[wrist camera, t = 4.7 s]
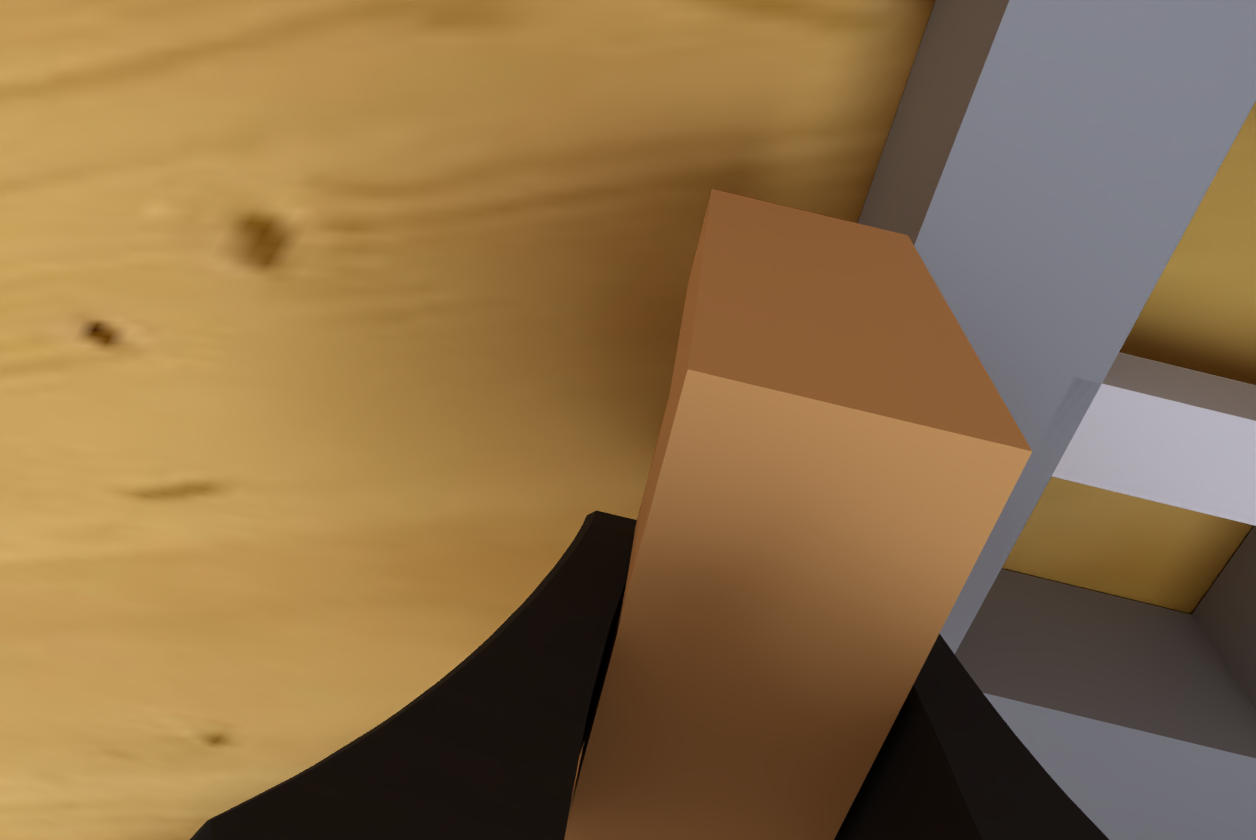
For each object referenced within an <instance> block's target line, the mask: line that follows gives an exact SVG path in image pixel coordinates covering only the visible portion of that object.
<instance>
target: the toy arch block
mask: <svg viewBox="0 0 1256 840" xmlns="http://www.w3.org/2000/svg"><path fill="white" fill-rule="evenodd" d="M1031 453H1032V450H1031V448H1030V446H1029V445H1028V443H1027V441H1026V439H1025V438H1024V436H1023V434H1022V432H1021V431H1020V429H1019V427H1018V426H1017V424H1016V422H1015V420H1014V419H1013V417H1012V415H1011V413H1010V412H1009V410H1008V408H1007V406H1006V405H1005V403H1004V401H1003V399H1002V398H1001V396H1000V394H999V393H998V391H997V389H996V387H995V386H994V384H993V382H992V380H991V379H990V377H989V375H988V373H987V372H986V370H985V368H984V366H983V365H982V363H981V361H980V360H979V358H978V356H977V354H976V353H975V351H974V349H973V347H972V346H971V344H970V342H969V340H968V339H967V337H966V335H965V333H964V332H963V330H962V328H961V327H960V325H959V323H958V321H957V320H956V318H955V316H954V314H953V313H952V311H951V309H950V307H949V306H948V304H947V302H946V300H945V299H944V297H943V295H942V294H941V292H940V290H939V288H938V287H937V285H936V283H935V281H934V280H933V278H932V276H931V274H930V273H929V271H928V269H927V267H926V266H925V264H924V262H923V261H922V259H921V257H920V255H919V254H918V252H917V250H916V248H915V247H914V245H913V243H912V241H911V240H910V238H909V236H908V235H905V234H900V233H896V232H892V231H888V230H883V229H879V228H875V227H871V226H867V225H862V224H858V223H854V222H850V221H846V220H841V219H837V218H833V217H829V216H824V215H820V214H816V213H812V212H808V211H803V210H799V209H795V208H791V207H787V206H782V205H778V204H774V203H770V202H765V201H761V200H757V199H753V198H749V197H744V196H740V195H736V194H732V193H728V192H723V191H719V190H715V189H712V190H711V194H710V198H709V202H708V206H707V210H706V214H705V218H704V222H703V226H702V230H701V234H700V238H699V242H698V246H697V250H696V254H695V258H694V262H693V266H692V269H691V273H690V277H689V281H688V287H687V293H686V299H685V305H684V311H683V317H682V323H681V329H680V335H679V341H678V347H677V353H676V359H675V365H674V370H673V376H672V382H671V388H670V394H669V399H668V403H667V406H666V410H665V414H664V418H663V422H662V426H661V430H660V433H659V437H658V441H657V445H656V449H655V453H654V457H653V460H652V464H651V468H650V472H649V476H648V480H647V484H646V488H645V491H644V495H643V499H642V503H641V507H640V511H639V515H638V518H637V522H636V526H635V533H634V540H633V546H632V552H631V558H630V564H629V570H628V576H627V580H626V583H625V587H624V591H623V595H622V599H621V603H620V606H619V610H618V614H617V618H616V622H615V625H614V629H613V633H612V637H611V641H610V645H609V648H608V652H607V656H606V660H605V664H604V667H603V671H602V675H601V679H600V683H599V687H598V690H597V694H596V698H595V702H594V706H593V709H592V713H591V717H590V721H589V725H588V729H587V732H586V736H585V740H584V743H583V747H582V750H581V753H580V756H579V761H578V766H577V772H576V777H575V783H574V788H573V794H572V799H571V805H570V811H569V816H568V822H567V827H566V833H565V838H564V840H834V839H835V837H836V835H837V833H838V831H839V829H840V827H841V825H842V823H843V821H844V819H845V817H846V815H847V813H848V811H849V809H850V807H851V805H852V803H853V801H854V799H855V798H856V796H857V794H858V792H859V790H860V788H861V786H862V784H863V782H864V780H865V778H866V776H867V774H868V772H869V770H870V768H871V766H872V764H873V762H874V760H875V758H876V756H877V755H878V753H879V751H880V749H881V747H882V745H883V743H884V741H885V739H886V737H887V735H888V733H889V731H890V729H891V727H892V725H893V723H894V721H895V719H896V717H897V715H898V713H899V711H900V710H901V708H902V706H903V704H904V702H905V700H906V698H907V696H908V694H909V692H910V690H911V688H912V686H913V684H914V682H915V680H916V678H917V676H918V674H919V672H920V670H921V668H922V666H923V665H924V663H925V661H926V659H927V657H928V655H929V653H930V651H931V649H932V647H933V645H934V643H935V641H936V639H937V637H938V635H939V633H940V631H941V629H942V627H943V625H944V623H945V621H946V620H947V618H948V616H949V614H950V612H951V610H952V608H953V606H954V604H955V602H956V600H957V598H958V596H959V594H960V592H961V590H962V588H963V586H964V584H965V582H966V580H967V578H968V576H969V575H970V573H971V571H972V569H973V567H974V565H975V563H976V561H977V559H978V557H979V555H980V553H981V551H982V549H983V547H984V545H985V543H986V541H987V539H988V537H989V535H990V533H991V531H992V530H993V528H994V526H995V524H996V522H997V520H998V518H999V516H1000V514H1001V512H1002V510H1003V508H1004V506H1005V504H1006V502H1007V500H1008V498H1009V496H1010V494H1011V492H1012V490H1013V488H1014V486H1015V485H1016V483H1017V481H1018V479H1019V477H1020V475H1021V473H1022V471H1023V469H1024V467H1025V465H1026V463H1027V461H1028V459H1029V457H1030V455H1031Z"/></svg>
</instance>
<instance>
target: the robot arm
mask: <svg viewBox="0 0 1256 840" xmlns="http://www.w3.org/2000/svg"><path fill="white" fill-rule="evenodd" d="M636 522H637V520H634V519H629V518H625V517H621V516H617V515H613V514H608V513H604V512H600V511H595V512H593V513H591V514H589V515H587V516H586V518H585V521H584V523H583V525H582V527H581V529H580V530H579V532H578V534H577V536H576V537H575V539H574V540H573V542H572V543H571V545H570V546H569V548H568V549H567V550H566V552H565V553H564V554H563V556H562V557H561V559H560V560H559V561H558V563H557V564H556V565H555V567H554V568H553V569H552V570H551V571H550V572H549V574H548V575H547V576H546V577H545V578H544V580H543V581H542V582H541V583H540V584H539V586H538V587H537V588H536V589H535V590H534V592H533V593H532V594H531V595H530V596H529V597H528V598H527V599H526V601H525V602H524V603H523V604H522V605H521V606H520V607H519V608H518V609H517V610H516V611H515V612H514V613H513V614H512V615H511V616H510V617H509V618H508V619H507V620H506V621H505V622H504V623H503V624H502V625H501V626H500V627H499V628H498V629H497V630H496V631H495V632H494V633H493V634H492V635H491V636H490V637H489V638H488V639H487V640H486V641H485V642H484V643H483V644H482V645H481V646H479V647H478V648H477V649H476V650H475V651H474V652H473V653H472V654H471V655H469V656H468V657H467V658H466V659H465V660H464V661H463V662H461V663H460V664H459V665H458V666H457V667H455V668H454V669H453V670H452V671H451V672H449V673H448V674H447V675H446V676H445V677H443V678H442V679H441V680H440V681H438V682H437V683H436V684H435V685H433V686H432V687H431V688H429V689H428V690H427V691H425V692H424V693H423V694H421V695H420V696H419V697H417V698H416V699H415V700H413V701H412V702H411V703H409V704H408V705H407V706H405V707H404V708H403V709H401V710H400V711H398V712H397V713H396V714H394V715H393V716H391V717H390V718H388V719H387V720H386V721H384V722H383V723H381V724H380V725H378V726H377V727H375V728H374V729H372V730H370V731H369V732H367V733H365V734H364V735H362V736H361V737H359V738H357V739H356V740H354V741H353V742H351V743H349V744H348V745H346V746H344V747H343V748H341V749H340V750H338V751H336V752H335V753H333V754H331V755H330V756H328V757H327V758H325V759H323V760H322V761H320V762H318V763H317V764H315V765H314V766H312V767H310V768H308V769H306V770H305V771H303V772H301V773H299V774H298V775H296V776H294V777H292V778H290V779H288V780H286V781H284V782H282V783H280V784H278V785H276V786H274V787H273V788H271V789H269V790H267V791H265V792H263V793H261V794H259V795H257V796H255V797H253V798H251V799H249V800H247V801H245V802H243V803H241V804H239V805H237V806H235V807H233V808H231V809H229V810H228V811H226V812H224V813H222V814H219V815H217V816H215V817H213V818H211V819H209V820H208V821H207V822H206V823H205V824H204V825H203V826H202V827H201V828H200V829H199V830H198V831H197V832H196V833H195V835H194V836H193V837H192V838H191V839H190V840H564V838H565V833H566V827H567V822H568V816H569V811H570V805H571V799H572V794H573V788H574V783H575V777H576V772H577V766H578V761H579V756H580V753H581V750H582V747H583V743H584V740H585V736H586V732H587V729H588V725H589V721H590V717H591V713H592V709H593V706H594V702H595V698H596V694H597V690H598V687H599V683H600V679H601V675H602V671H603V667H604V664H605V660H606V656H607V652H608V648H609V645H610V641H611V637H612V633H613V629H614V625H615V622H616V618H617V614H618V610H619V606H620V603H621V599H622V595H623V591H624V587H625V583H626V580H627V576H628V570H629V564H630V558H631V552H632V546H633V540H634V533H635V526H636ZM834 840H1109V839H1108V838H1107V837H1106V835H1105V834H1104V833H1103V832H1102V831H1101V830H1100V829H1099V828H1098V827H1097V826H1096V825H1095V824H1094V823H1093V822H1092V821H1091V820H1090V819H1089V818H1088V817H1087V816H1086V814H1085V813H1084V812H1083V811H1082V810H1081V809H1080V808H1079V807H1078V806H1077V805H1076V804H1075V803H1074V802H1073V801H1072V800H1071V799H1070V798H1069V797H1068V795H1067V794H1066V793H1065V792H1064V791H1063V790H1062V789H1061V788H1060V786H1059V785H1058V784H1057V783H1056V782H1055V781H1054V780H1053V779H1052V778H1051V776H1050V775H1049V774H1048V773H1047V772H1046V771H1045V769H1044V768H1043V767H1042V766H1041V765H1040V763H1039V762H1038V761H1037V760H1036V759H1035V757H1034V756H1033V755H1032V754H1031V753H1030V751H1029V750H1028V749H1027V748H1026V747H1025V745H1024V744H1023V743H1022V742H1021V741H1020V739H1019V738H1018V737H1017V736H1016V735H1015V733H1014V732H1013V731H1012V730H1011V728H1010V727H1009V726H1008V725H1007V723H1006V722H1005V721H1004V720H1003V718H1002V717H1001V716H1000V714H999V713H998V712H997V711H996V709H995V708H994V707H993V705H992V704H991V703H990V702H989V700H988V699H987V698H986V696H985V695H984V694H983V692H982V691H981V690H980V688H979V687H978V686H977V684H976V683H975V682H974V680H973V679H972V678H971V676H970V675H969V673H968V672H967V671H966V669H965V668H964V667H963V665H962V664H961V663H960V661H959V660H958V658H957V657H956V656H955V654H954V653H953V651H952V650H951V649H950V647H949V646H948V644H947V643H946V642H945V640H944V639H943V637H942V636H941V635H940V633H939V635H938V637H937V639H936V641H935V643H934V645H933V647H932V649H931V651H930V653H929V655H928V657H927V659H926V661H925V663H924V665H923V666H922V668H921V670H920V672H919V674H918V676H917V678H916V680H915V682H914V684H913V686H912V688H911V690H910V692H909V694H908V696H907V698H906V700H905V702H904V704H903V706H902V708H901V710H900V711H899V713H898V715H897V717H896V719H895V721H894V723H893V725H892V727H891V729H890V731H889V733H888V735H887V737H886V739H885V741H884V743H883V745H882V747H881V749H880V751H879V753H878V755H877V756H876V758H875V760H874V762H873V764H872V766H871V768H870V770H869V772H868V774H867V776H866V778H865V780H864V782H863V784H862V786H861V788H860V790H859V792H858V794H857V796H856V798H855V799H854V801H853V803H852V805H851V807H850V809H849V811H848V813H847V815H846V817H845V819H844V821H843V823H842V825H841V827H840V829H839V831H838V833H837V835H836V837H835V839H834Z"/></svg>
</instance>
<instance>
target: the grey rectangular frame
mask: <svg viewBox="0 0 1256 840" xmlns="http://www.w3.org/2000/svg"><path fill="white" fill-rule="evenodd" d="M1255 101H1256V0H936V1H935V3H934V6H933V9H932V12H931V15H930V18H929V21H928V23H927V26H926V29H925V32H924V35H923V38H922V41H921V43H920V46H919V49H918V52H917V55H916V58H915V61H914V63H913V66H912V69H911V72H910V75H909V78H908V81H907V83H906V86H905V89H904V92H903V95H902V98H901V101H900V103H899V106H898V109H897V112H896V115H895V118H894V121H893V123H892V126H891V129H890V132H889V135H888V138H887V141H886V143H885V146H884V149H883V152H882V155H881V158H880V161H879V163H878V166H877V169H876V172H875V175H874V178H873V181H872V183H871V186H870V189H869V192H868V195H867V198H866V201H865V203H864V206H863V209H862V212H861V215H860V218H859V221H858V224H862V225H867V226H871V227H875V228H879V229H883V230H888V231H892V232H896V233H900V234H905V235H908V236H909V238H910V240H911V241H912V243H913V245H914V247H915V248H916V250H917V252H918V254H919V255H920V257H921V259H922V261H923V262H924V264H925V266H926V267H927V269H928V271H929V273H930V274H931V276H932V278H933V280H934V281H935V283H936V285H937V287H938V288H939V290H940V292H941V294H942V295H943V297H944V299H945V300H946V302H947V304H948V306H949V307H950V309H951V311H952V313H953V314H954V316H955V318H956V320H957V321H958V323H959V325H960V327H961V328H962V330H963V332H964V333H965V335H966V337H967V339H968V340H969V342H970V344H971V346H972V347H973V349H974V351H975V353H976V354H977V356H978V358H979V360H980V361H981V363H982V365H983V366H984V368H985V370H986V372H987V373H988V375H989V377H990V379H991V380H992V382H993V384H994V386H995V387H996V389H997V391H998V393H999V394H1000V396H1001V398H1002V399H1003V401H1004V403H1005V405H1006V406H1007V408H1008V410H1009V412H1010V413H1011V415H1012V417H1013V419H1014V420H1015V422H1016V424H1017V426H1018V427H1019V429H1020V431H1021V432H1022V434H1023V436H1024V438H1025V439H1026V441H1027V443H1028V445H1029V446H1030V448H1031V450H1032V453H1031V455H1030V457H1029V459H1028V461H1027V463H1026V465H1025V467H1024V469H1023V471H1022V473H1021V475H1020V477H1019V479H1018V481H1017V483H1016V485H1015V486H1014V488H1013V490H1012V492H1011V494H1010V496H1009V498H1008V500H1007V502H1006V504H1005V506H1004V508H1003V510H1002V512H1001V514H1000V516H999V518H998V520H997V522H996V524H995V526H994V528H993V530H992V531H991V533H990V535H989V537H988V539H987V541H986V543H985V545H984V547H983V549H982V551H981V553H980V555H979V557H978V559H977V561H976V563H975V565H974V567H973V569H972V571H971V573H970V575H969V576H968V578H967V580H966V582H965V584H964V586H963V588H962V590H961V592H960V594H959V596H958V598H957V600H956V602H955V604H954V606H953V608H952V610H951V612H950V614H949V616H948V618H947V620H946V621H945V623H944V625H943V627H942V629H941V631H940V635H941V636H942V637H943V639H944V640H945V642H946V643H947V644H948V646H949V647H950V649H951V650H952V651H953V653H954V654H955V656H956V657H957V658H958V660H959V661H960V663H961V664H962V665H963V667H964V668H965V669H966V671H967V672H968V673H969V675H970V676H971V678H972V679H973V680H974V682H975V683H976V684H977V686H978V687H979V688H980V690H981V691H982V692H983V694H984V695H985V696H986V698H987V699H988V700H989V702H990V703H991V704H992V705H993V707H994V708H995V709H996V711H997V712H998V713H999V714H1000V716H1001V717H1002V718H1003V720H1004V721H1005V722H1006V723H1007V725H1008V726H1009V727H1010V728H1011V730H1012V731H1013V732H1014V733H1015V735H1016V736H1017V737H1018V738H1019V739H1020V741H1021V742H1022V743H1023V744H1024V745H1025V747H1026V748H1027V749H1028V750H1029V751H1030V753H1031V754H1032V755H1033V756H1034V757H1035V759H1036V760H1037V761H1038V762H1039V763H1040V765H1041V766H1042V767H1043V768H1044V769H1045V771H1046V772H1047V773H1048V774H1049V775H1050V776H1051V778H1052V779H1053V780H1054V781H1055V782H1056V783H1057V784H1058V785H1059V786H1060V788H1061V789H1062V790H1063V791H1064V792H1065V793H1066V794H1067V795H1068V797H1069V798H1070V799H1071V800H1072V801H1073V802H1074V803H1075V804H1076V805H1077V806H1078V807H1079V808H1080V809H1081V810H1082V811H1083V812H1084V813H1085V814H1086V816H1087V817H1088V818H1089V819H1090V820H1091V821H1092V822H1093V823H1094V824H1095V825H1096V826H1097V827H1098V828H1099V829H1100V830H1101V831H1102V832H1103V833H1104V834H1105V835H1106V837H1107V838H1108V839H1109V840H1256V385H1253V384H1249V383H1245V382H1241V381H1237V380H1232V379H1228V378H1224V377H1220V376H1216V375H1212V374H1208V373H1204V372H1199V371H1195V370H1191V369H1187V368H1183V367H1179V366H1175V365H1171V364H1167V363H1162V362H1158V361H1154V360H1150V359H1146V358H1142V357H1138V356H1134V355H1129V354H1125V353H1121V352H1119V351H1120V349H1121V348H1122V346H1123V344H1124V342H1125V340H1126V338H1127V337H1128V335H1129V333H1130V331H1131V329H1132V327H1133V326H1134V324H1135V322H1136V320H1137V318H1138V316H1139V315H1140V313H1141V311H1142V309H1143V307H1144V305H1145V303H1146V302H1147V300H1148V298H1149V296H1150V294H1151V292H1152V291H1153V289H1154V287H1155V285H1156V283H1157V281H1158V280H1159V278H1160V276H1161V274H1162V272H1163V270H1164V269H1165V267H1166V265H1167V263H1168V261H1169V259H1170V258H1171V256H1172V254H1173V252H1174V250H1175V248H1176V246H1177V245H1178V243H1179V241H1180V239H1181V237H1182V235H1183V234H1184V232H1185V230H1186V228H1187V226H1188V224H1189V223H1190V221H1191V219H1192V217H1193V215H1194V213H1195V212H1196V210H1197V208H1198V206H1199V204H1200V202H1201V201H1202V199H1203V197H1204V195H1205V193H1206V191H1207V189H1208V188H1209V186H1210V184H1211V182H1212V180H1213V178H1214V177H1215V175H1216V173H1217V171H1218V169H1219V167H1220V166H1221V164H1222V162H1223V160H1224V158H1225V156H1226V155H1227V153H1228V151H1229V149H1230V147H1231V145H1232V144H1233V142H1234V140H1235V138H1236V136H1237V134H1238V133H1239V131H1240V129H1241V127H1242V125H1243V123H1244V121H1245V120H1246V118H1247V116H1248V114H1249V112H1250V110H1251V109H1252V107H1253V105H1254V103H1255ZM1051 476H1052V477H1056V478H1060V479H1065V480H1069V481H1073V482H1077V483H1081V484H1085V485H1089V486H1093V487H1098V488H1102V489H1106V490H1110V491H1114V492H1118V493H1122V494H1127V495H1131V496H1135V497H1139V498H1143V499H1147V500H1151V501H1155V502H1160V503H1164V504H1168V505H1172V506H1176V507H1180V508H1184V509H1188V510H1193V511H1197V512H1201V513H1205V514H1209V515H1213V516H1217V517H1222V518H1226V519H1230V520H1234V521H1238V522H1242V523H1246V524H1250V525H1255V526H1254V527H1253V528H1252V530H1251V531H1250V533H1249V534H1248V536H1247V537H1246V538H1245V540H1244V541H1243V543H1242V544H1241V545H1240V547H1239V548H1238V550H1237V551H1236V552H1235V554H1234V555H1233V557H1232V558H1231V560H1230V561H1229V562H1228V564H1227V565H1226V567H1225V568H1224V569H1223V571H1222V572H1221V574H1220V575H1219V577H1218V578H1217V579H1216V581H1215V582H1214V584H1213V585H1212V586H1211V588H1210V589H1209V591H1208V592H1207V594H1206V595H1205V596H1204V598H1203V599H1202V601H1201V602H1200V603H1199V605H1198V606H1197V608H1196V609H1195V610H1194V612H1193V613H1192V615H1191V614H1187V613H1183V612H1179V611H1175V610H1170V609H1166V608H1162V607H1158V606H1154V605H1150V604H1146V603H1142V602H1137V601H1133V600H1129V599H1125V598H1121V597H1117V596H1113V595H1108V594H1104V593H1100V592H1096V591H1092V590H1088V589H1084V588H1079V587H1075V586H1071V585H1067V584H1063V583H1059V582H1055V581H1051V580H1046V579H1042V578H1038V577H1034V576H1030V575H1026V574H1022V573H1017V572H1013V571H1009V570H1005V569H1001V568H1002V566H1003V565H1004V563H1005V561H1006V559H1007V557H1008V555H1009V554H1010V552H1011V550H1012V548H1013V546H1014V544H1015V542H1016V541H1017V539H1018V537H1019V535H1020V533H1021V531H1022V530H1023V528H1024V526H1025V524H1026V522H1027V520H1028V519H1029V517H1030V515H1031V513H1032V511H1033V509H1034V508H1035V506H1036V504H1037V502H1038V500H1039V498H1040V497H1041V495H1042V493H1043V491H1044V489H1045V487H1046V485H1047V484H1048V482H1049V480H1050V478H1051Z"/></svg>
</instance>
